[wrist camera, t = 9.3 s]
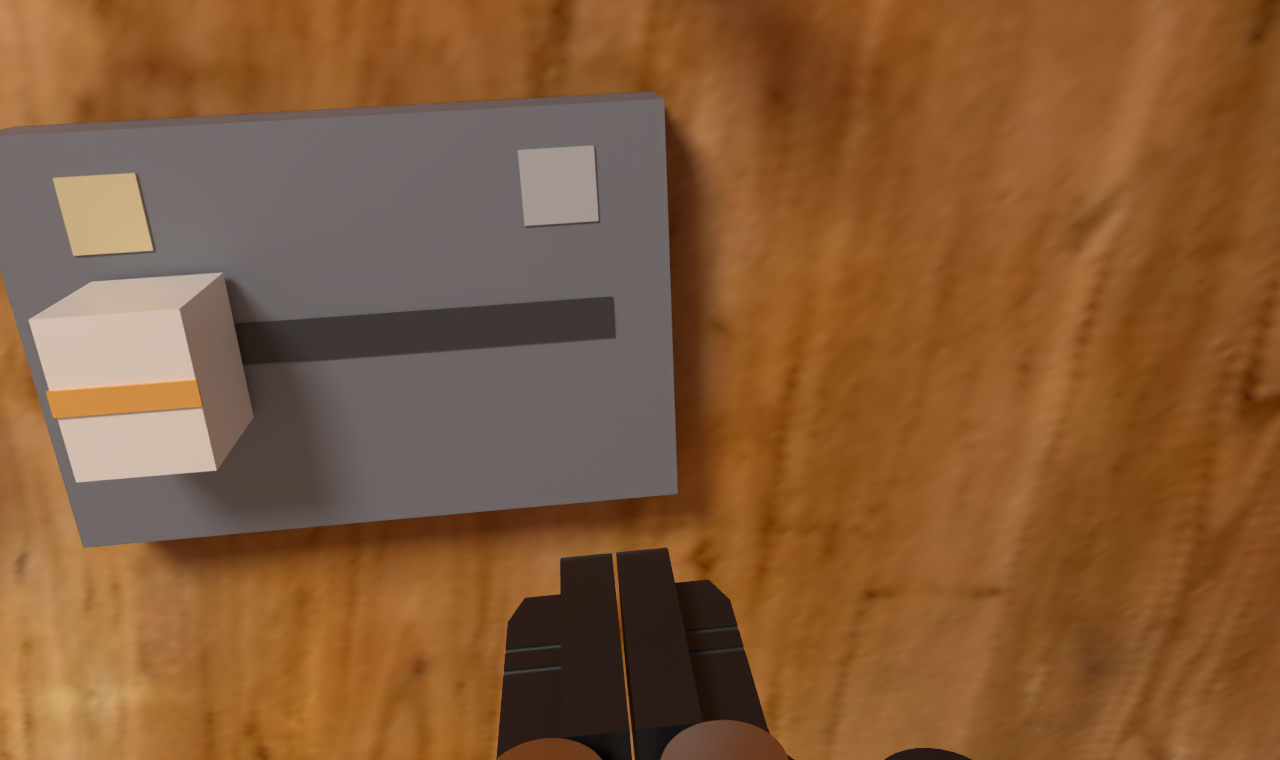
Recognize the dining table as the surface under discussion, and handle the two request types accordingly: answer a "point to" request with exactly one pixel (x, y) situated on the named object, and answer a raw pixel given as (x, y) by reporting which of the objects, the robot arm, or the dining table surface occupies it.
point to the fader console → (378, 301)
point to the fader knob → (144, 376)
